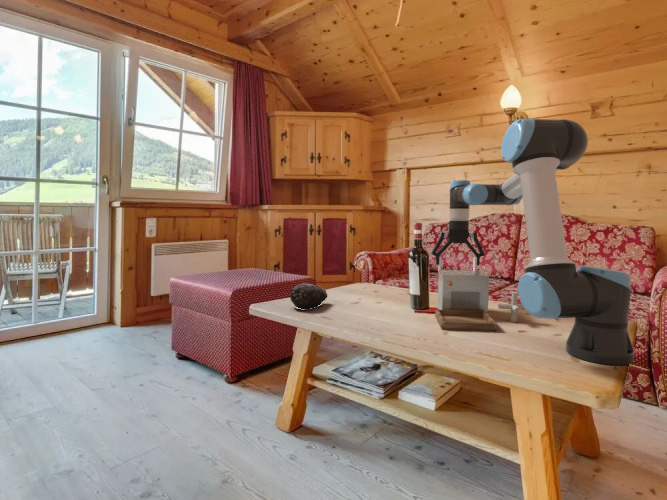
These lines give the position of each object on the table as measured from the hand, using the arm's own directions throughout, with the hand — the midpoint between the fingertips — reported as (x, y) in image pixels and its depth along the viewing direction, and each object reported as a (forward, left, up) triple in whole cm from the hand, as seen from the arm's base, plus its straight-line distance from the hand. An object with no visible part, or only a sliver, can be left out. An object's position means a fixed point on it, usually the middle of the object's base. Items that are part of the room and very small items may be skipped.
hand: (457, 273), depth 165 cm
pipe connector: (-22, -16, -13) cm, 30 cm away
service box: (-12, 0, -13) cm, 17 cm away
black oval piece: (-10, +58, -13) cm, 61 cm away
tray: (-27, +2, -13) cm, 30 cm away
